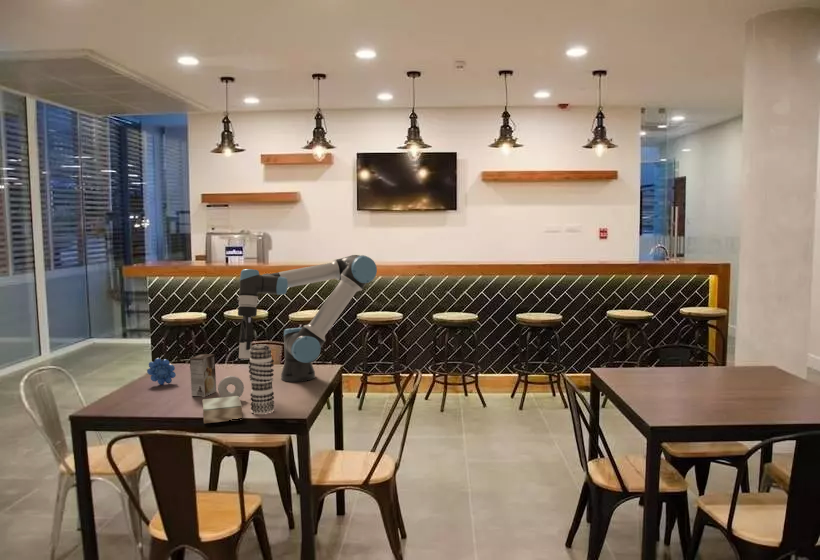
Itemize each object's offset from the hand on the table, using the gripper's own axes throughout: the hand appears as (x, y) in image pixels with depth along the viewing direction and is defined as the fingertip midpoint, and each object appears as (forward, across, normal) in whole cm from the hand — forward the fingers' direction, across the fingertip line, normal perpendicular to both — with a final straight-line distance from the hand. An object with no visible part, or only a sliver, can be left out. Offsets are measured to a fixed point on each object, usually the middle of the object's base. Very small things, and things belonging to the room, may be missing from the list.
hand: (244, 358), depth 255 cm
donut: (+17, +3, -4) cm, 18 cm away
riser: (+21, +22, -10) cm, 32 cm away
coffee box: (+15, -11, -14) cm, 23 cm away
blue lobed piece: (+13, -35, -30) cm, 47 cm away
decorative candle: (+20, +24, +4) cm, 31 cm away
